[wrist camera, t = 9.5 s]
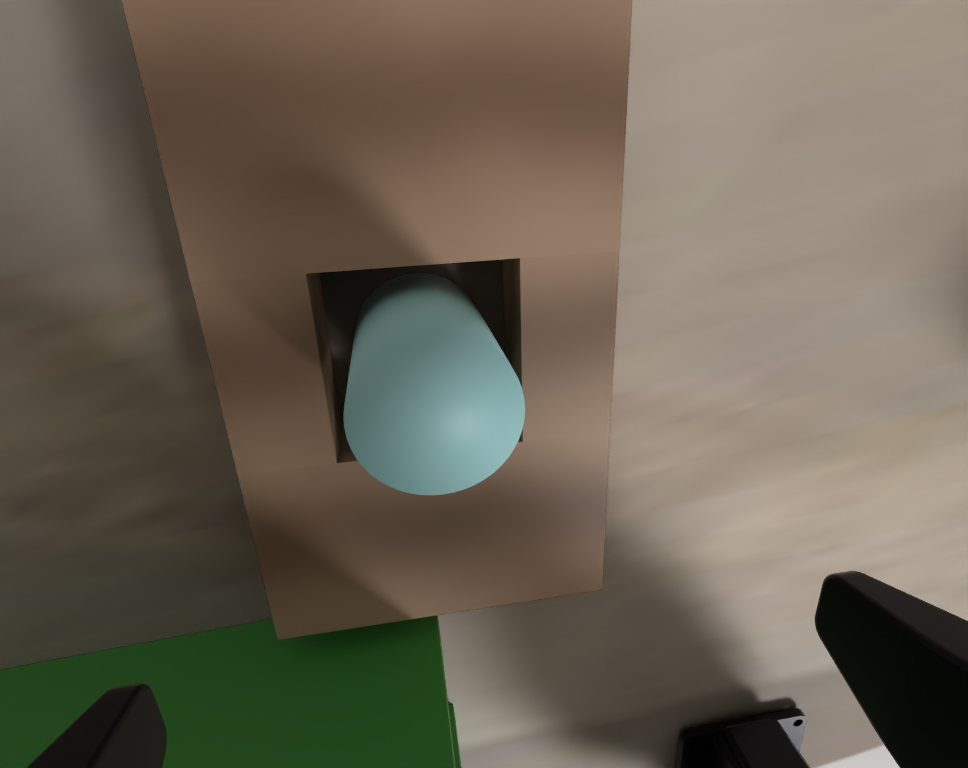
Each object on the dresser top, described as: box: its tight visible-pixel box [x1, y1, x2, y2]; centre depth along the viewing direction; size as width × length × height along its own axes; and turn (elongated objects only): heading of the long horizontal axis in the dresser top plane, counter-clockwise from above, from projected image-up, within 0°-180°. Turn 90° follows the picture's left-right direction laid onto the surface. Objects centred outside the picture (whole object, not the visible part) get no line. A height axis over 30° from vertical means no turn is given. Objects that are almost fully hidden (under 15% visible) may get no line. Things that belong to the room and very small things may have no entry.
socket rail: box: [122, 0, 632, 640], centre depth 17 cm, size 18×11×2 cm, turn 1°
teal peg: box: [343, 273, 525, 495], centre depth 15 cm, size 4×4×6 cm
